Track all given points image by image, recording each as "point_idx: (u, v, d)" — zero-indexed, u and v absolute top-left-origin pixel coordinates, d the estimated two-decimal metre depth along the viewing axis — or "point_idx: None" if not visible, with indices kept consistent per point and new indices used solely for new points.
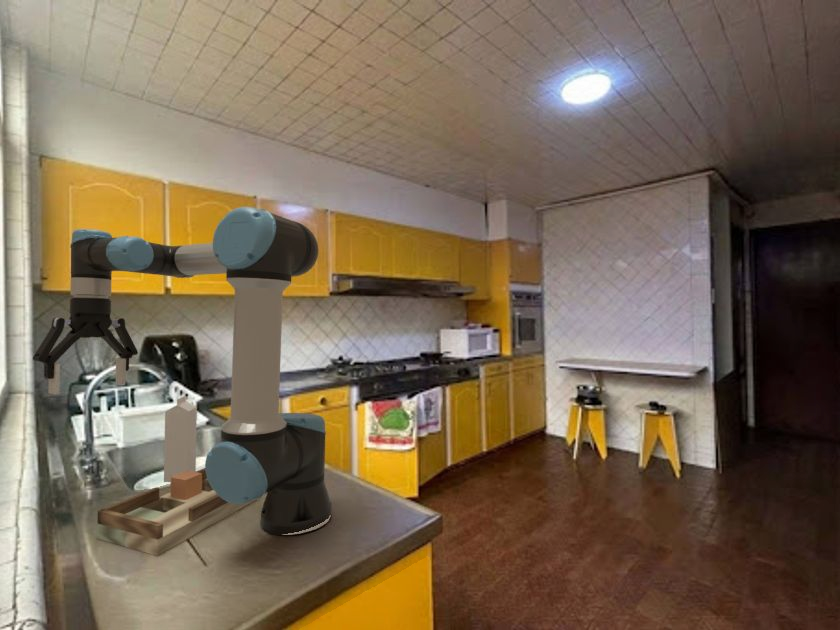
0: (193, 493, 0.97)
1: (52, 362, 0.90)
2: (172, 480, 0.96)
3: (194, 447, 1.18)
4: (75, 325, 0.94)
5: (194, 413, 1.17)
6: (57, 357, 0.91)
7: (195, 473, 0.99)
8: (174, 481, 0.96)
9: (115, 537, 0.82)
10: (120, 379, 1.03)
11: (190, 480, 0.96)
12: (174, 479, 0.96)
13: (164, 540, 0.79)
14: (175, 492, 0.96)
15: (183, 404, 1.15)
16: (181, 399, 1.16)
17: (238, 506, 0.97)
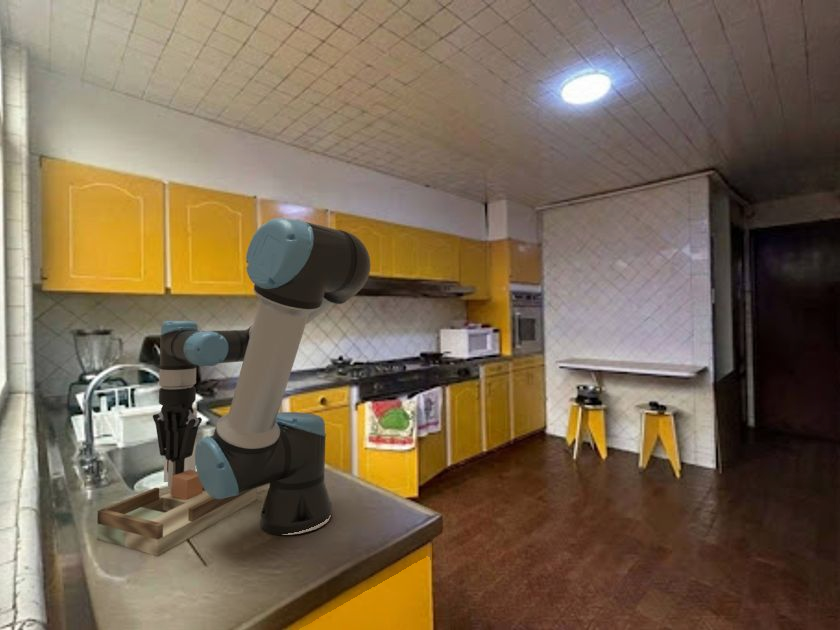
0: (194, 493, 0.97)
1: (167, 458, 0.98)
2: (173, 479, 0.96)
3: (194, 447, 1.18)
4: (163, 414, 0.99)
5: (194, 413, 1.17)
6: (168, 452, 0.98)
7: (197, 473, 0.99)
8: (175, 480, 0.96)
9: (115, 537, 0.82)
10: None
11: (191, 481, 0.96)
12: (176, 478, 0.96)
13: (164, 540, 0.79)
14: (176, 491, 0.96)
15: None
16: None
17: (238, 506, 0.97)
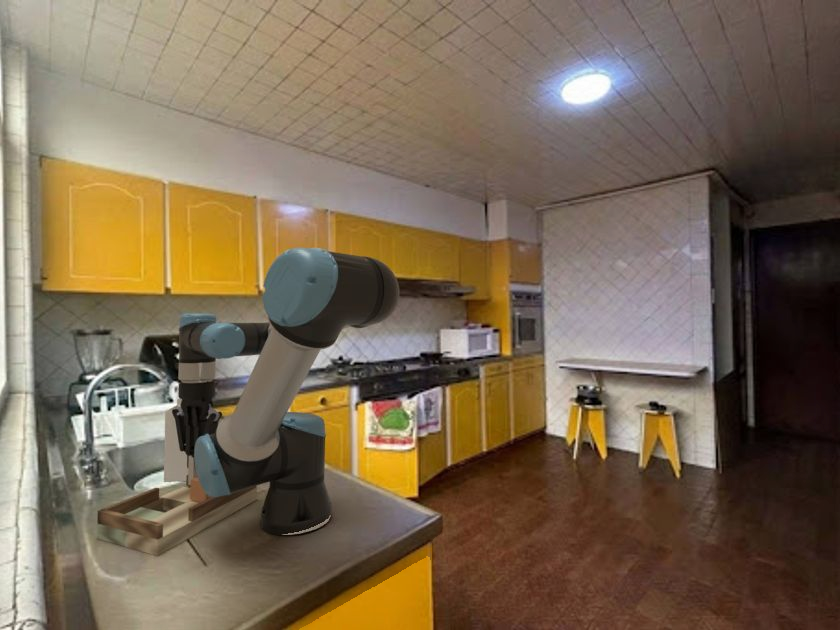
0: None
1: (187, 453, 0.96)
2: (192, 482, 0.94)
3: None
4: (183, 408, 0.97)
5: None
6: (188, 447, 0.96)
7: None
8: (194, 483, 0.94)
9: (115, 537, 0.82)
10: None
11: None
12: (194, 482, 0.94)
13: (164, 540, 0.79)
14: (195, 495, 0.94)
15: None
16: (181, 399, 1.16)
17: (238, 506, 0.97)
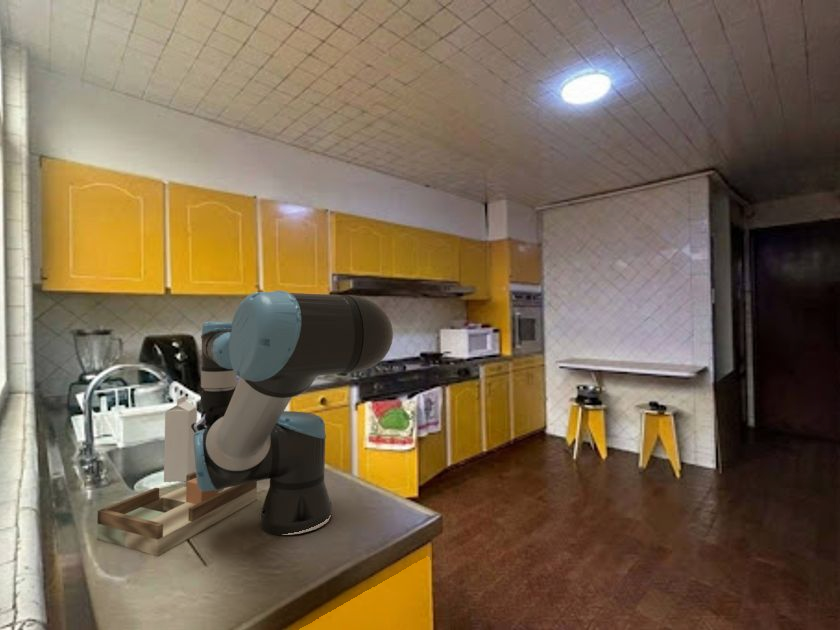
0: None
1: None
2: (188, 484, 0.94)
3: None
4: (211, 419, 0.94)
5: (194, 413, 1.17)
6: None
7: None
8: (189, 485, 0.94)
9: (115, 537, 0.82)
10: None
11: None
12: (190, 484, 0.94)
13: (164, 540, 0.79)
14: (191, 497, 0.93)
15: (183, 404, 1.15)
16: (181, 399, 1.16)
17: (238, 506, 0.97)
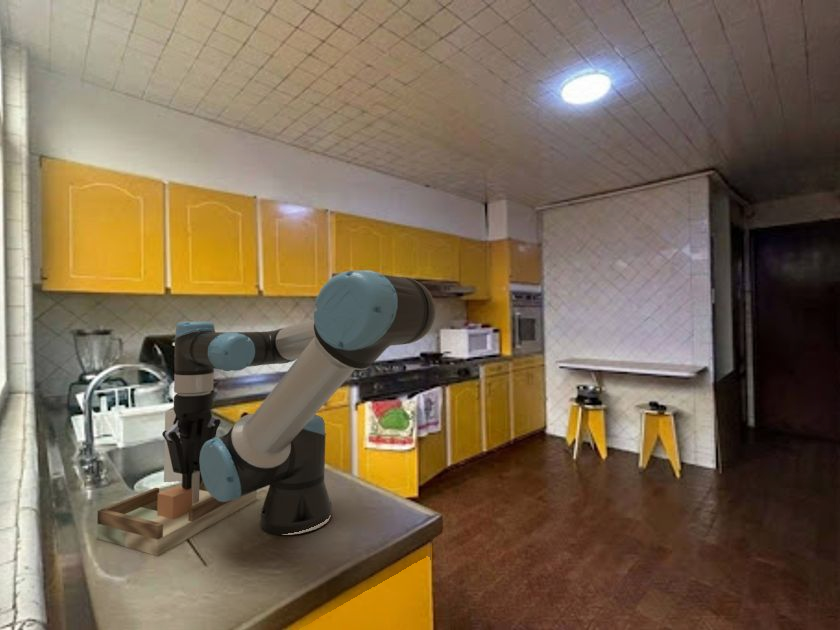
0: (182, 511, 0.88)
1: (192, 472, 0.90)
2: (159, 496, 0.88)
3: None
4: (184, 426, 0.88)
5: None
6: (192, 465, 0.90)
7: None
8: (160, 497, 0.87)
9: (115, 537, 0.82)
10: None
11: (178, 497, 0.87)
12: (161, 496, 0.87)
13: (164, 540, 0.79)
14: (162, 510, 0.87)
15: None
16: None
17: (238, 506, 0.97)
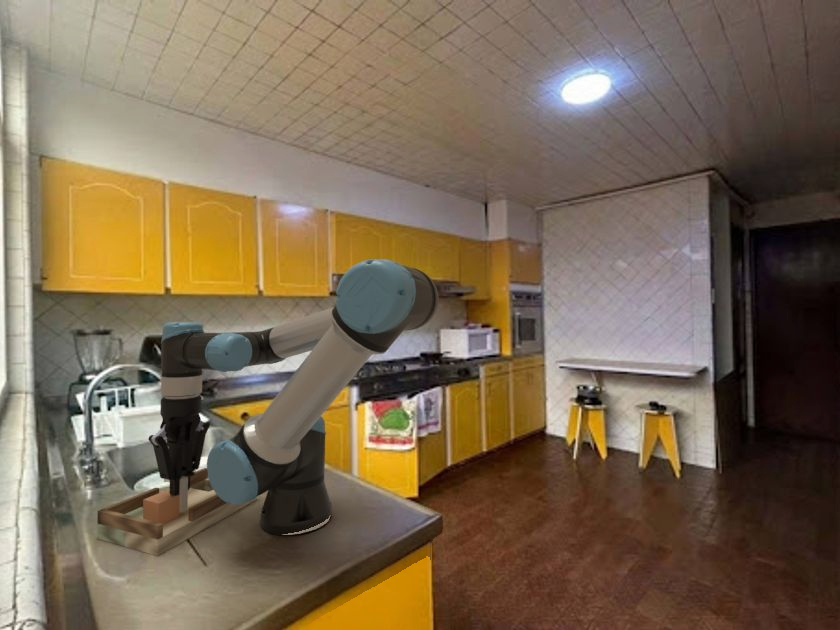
0: (168, 518, 0.85)
1: (180, 477, 0.87)
2: (145, 503, 0.84)
3: None
4: (172, 431, 0.85)
5: None
6: (180, 471, 0.87)
7: None
8: (146, 504, 0.84)
9: (115, 537, 0.82)
10: None
11: (164, 503, 0.84)
12: (147, 502, 0.84)
13: (164, 540, 0.79)
14: (148, 517, 0.84)
15: None
16: None
17: (238, 506, 0.97)
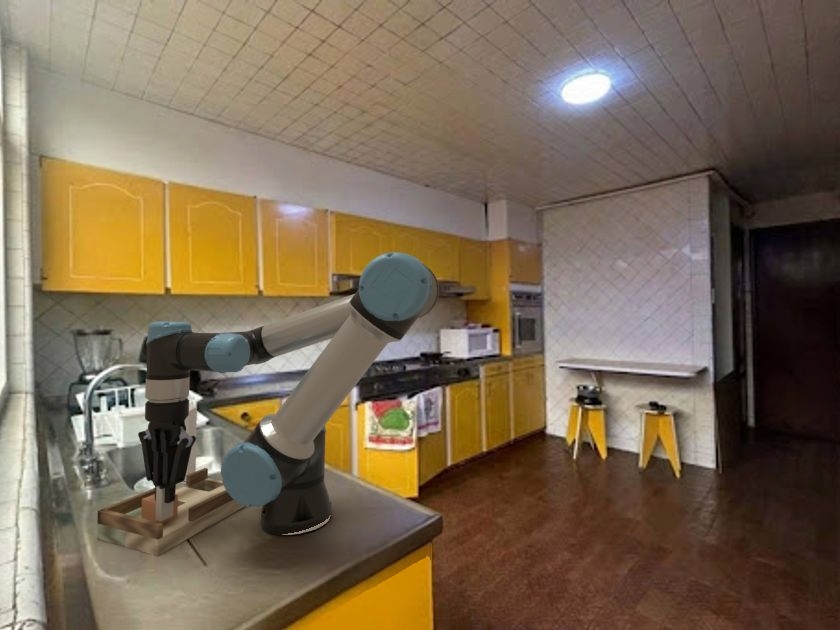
0: None
1: (155, 484, 0.83)
2: (143, 502, 0.85)
3: (194, 447, 1.18)
4: (151, 431, 0.84)
5: (194, 413, 1.17)
6: (156, 477, 0.83)
7: None
8: (145, 503, 0.84)
9: (115, 537, 0.82)
10: None
11: None
12: (145, 502, 0.84)
13: (164, 540, 0.79)
14: (146, 517, 0.84)
15: None
16: None
17: (238, 506, 0.97)
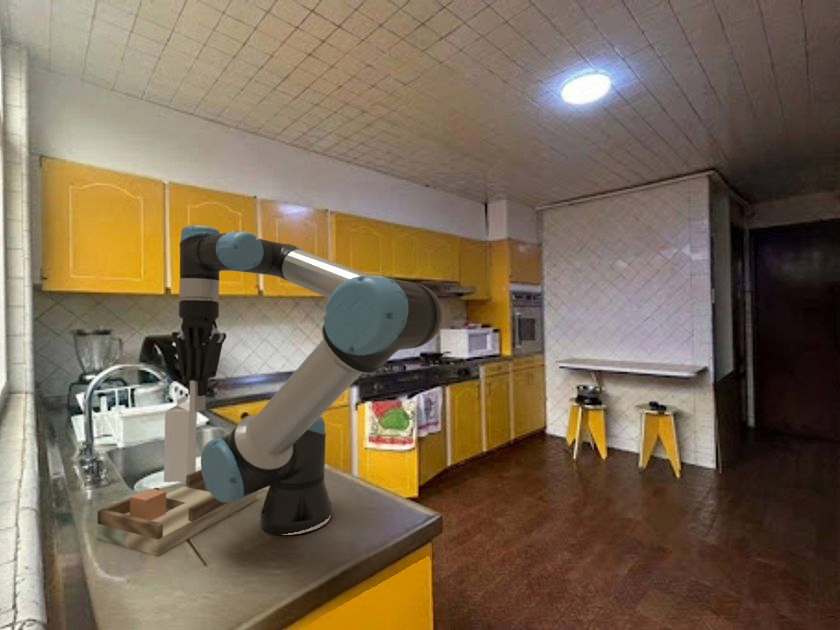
0: (155, 514, 0.86)
1: (188, 378, 0.89)
2: (131, 500, 0.86)
3: (194, 447, 1.18)
4: (184, 330, 0.90)
5: (194, 413, 1.17)
6: (189, 372, 0.89)
7: (158, 492, 0.88)
8: (133, 501, 0.85)
9: (115, 537, 0.82)
10: None
11: (151, 500, 0.85)
12: (133, 499, 0.85)
13: (164, 540, 0.79)
14: (135, 514, 0.85)
15: (183, 404, 1.15)
16: (181, 399, 1.16)
17: (238, 506, 0.97)
